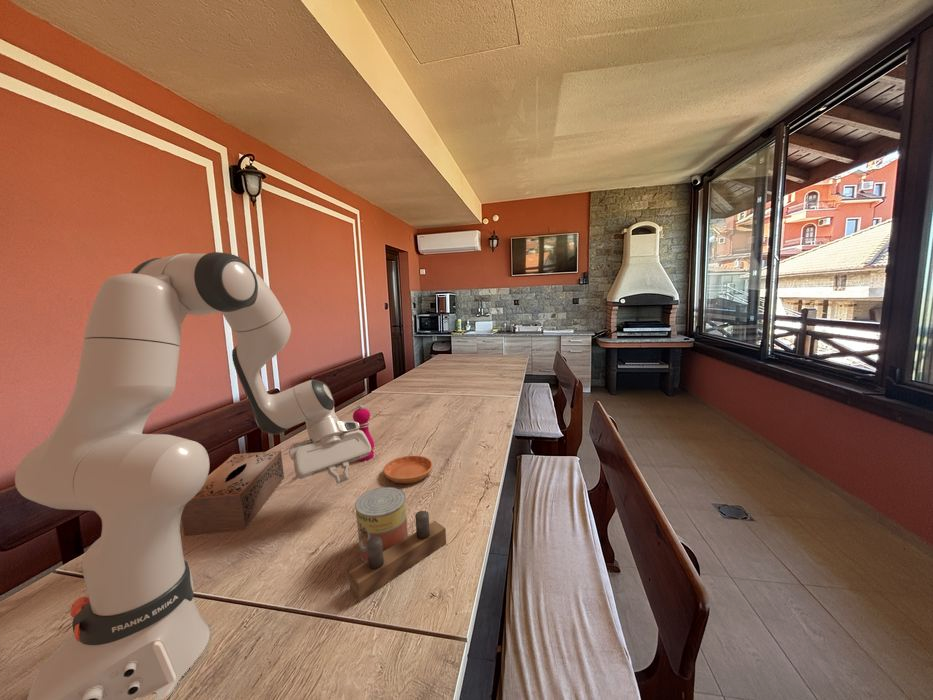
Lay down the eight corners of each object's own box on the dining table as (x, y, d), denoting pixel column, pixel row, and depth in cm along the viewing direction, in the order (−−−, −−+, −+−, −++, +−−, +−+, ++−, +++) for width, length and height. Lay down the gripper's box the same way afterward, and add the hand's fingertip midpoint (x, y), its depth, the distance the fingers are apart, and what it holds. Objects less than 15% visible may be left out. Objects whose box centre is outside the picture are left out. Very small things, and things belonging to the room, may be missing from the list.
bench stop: (360, 601, 68) (356, 560, 66) (350, 589, 71) (346, 549, 69) (446, 543, 83) (444, 508, 81) (435, 535, 86) (433, 501, 84)
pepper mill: (369, 462, 125) (365, 408, 121) (350, 461, 126) (346, 407, 123) (378, 453, 132) (374, 402, 128) (360, 452, 133) (356, 401, 130)
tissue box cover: (244, 530, 90) (239, 495, 89) (184, 536, 89) (177, 500, 87) (284, 479, 116) (280, 450, 114) (237, 483, 114) (233, 454, 112)
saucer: (381, 468, 121) (380, 460, 120) (426, 459, 126) (425, 451, 126) (387, 492, 106) (387, 483, 105) (438, 480, 111) (438, 472, 111)
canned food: (351, 547, 83) (346, 500, 81) (393, 525, 90) (390, 481, 88) (373, 574, 74) (369, 522, 73) (418, 547, 82) (415, 500, 80)
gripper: (289, 441, 90) (304, 492, 85) (363, 420, 103) (380, 464, 98) (284, 450, 94) (299, 500, 89) (357, 430, 107) (373, 472, 102)
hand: (343, 481), depth 94 cm, fingers closed
